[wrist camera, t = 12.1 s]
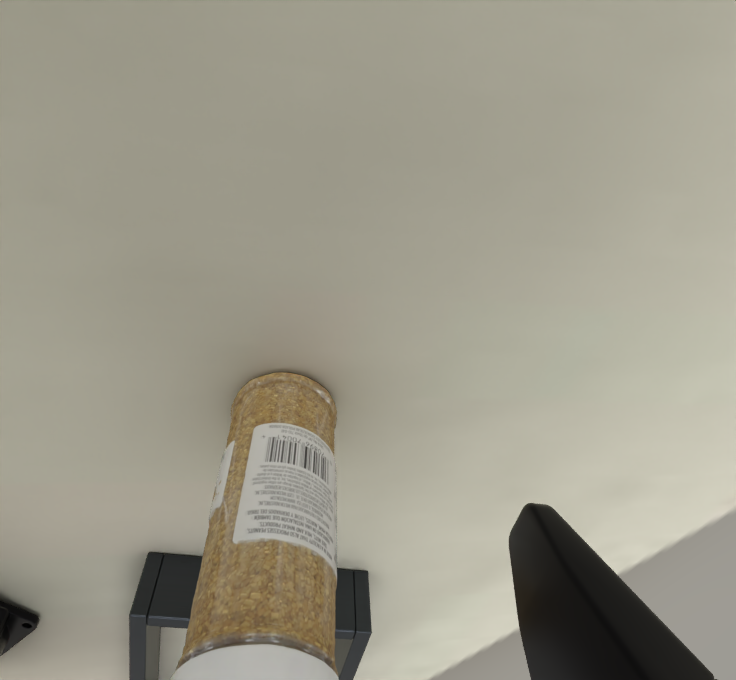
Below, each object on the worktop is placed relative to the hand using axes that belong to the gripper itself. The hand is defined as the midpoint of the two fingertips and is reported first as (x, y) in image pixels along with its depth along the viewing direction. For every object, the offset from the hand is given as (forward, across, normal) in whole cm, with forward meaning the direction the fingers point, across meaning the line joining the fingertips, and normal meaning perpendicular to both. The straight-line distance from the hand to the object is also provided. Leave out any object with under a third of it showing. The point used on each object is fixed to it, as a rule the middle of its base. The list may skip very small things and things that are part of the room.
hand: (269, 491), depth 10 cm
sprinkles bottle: (+13, -1, +9) cm, 16 cm away
